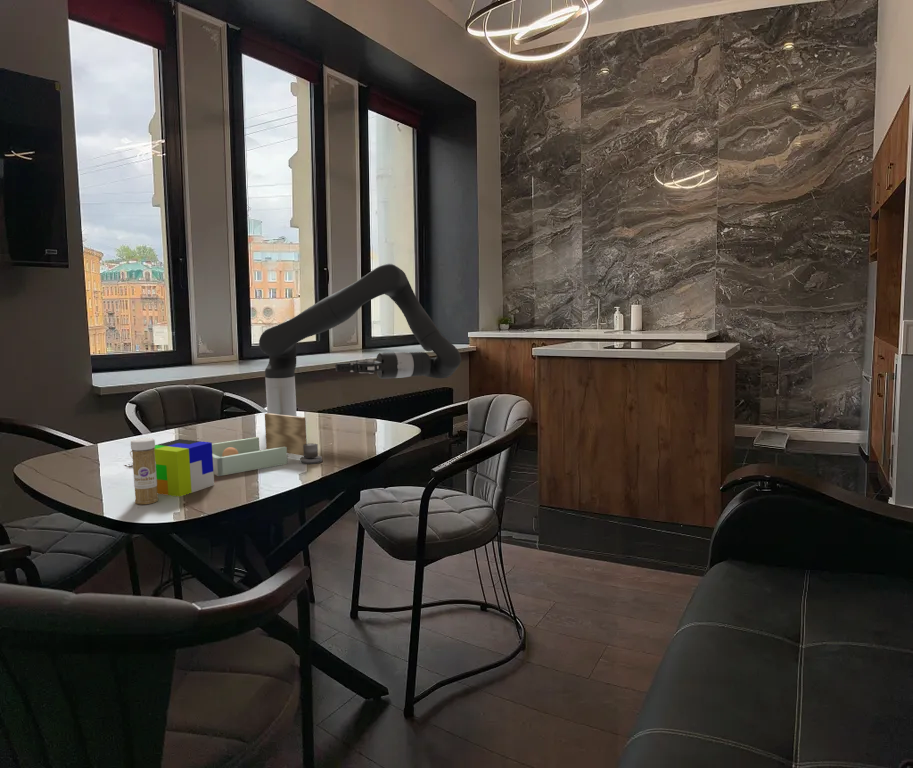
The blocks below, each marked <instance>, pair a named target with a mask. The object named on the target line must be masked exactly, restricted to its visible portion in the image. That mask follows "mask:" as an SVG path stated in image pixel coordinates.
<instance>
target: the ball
mask: <svg viewBox="0 0 913 768" xmlns="http://www.w3.org/2000/svg"><path fill="white" fill-rule="evenodd" d="M236 454H238V451H237V450H236V449H235V448H233V447H229V448H226V449H225V450H224V451H223V454H222V457H224V456H230V455H236Z"/></svg>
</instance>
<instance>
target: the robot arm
mask: <svg viewBox="0 0 913 768" xmlns="http://www.w3.org/2000/svg"><path fill="white" fill-rule="evenodd" d="M382 295H386V296H388V297H389V299H391V300H392V301H393V303H395V304H396V306H397V307H398V309H399V310H400V311H401V312H402V314H403V316H404V318H405V321H406V322H407V325H408V326H409V329H410V330H411V332H412V334H413V335H414V337H415V339H416V340H417V342H418V343H419V344H420V346H421V348H422V349H423V350H424V351H426V352H422V351H417V352H416V351H415V352H414V351H413V352H412V351H411V352H405V351H392V352H391V351H390V352H389V351H388V352H379V353H378V354H377V356H376V359H372V358H365V359H357V360H353V361H352V360H350V361H348V362H344V363H343V362H342V363H336V364H335V371H336V372H338V373H342V372H350V373H359V374H370V375H371V374H373V375H374V374H375V372H376V375H377V377H378V378H379V379H381V380H384V379H398V378H399V379H400V378H403V379H404V378H409V377H422V376H423V377H427V378H434V379H445V378H446V379H447V378H449V377H451V376H452V375H453V374H454V373H455V372H456V371H457V369H458V368H459V367H460V365H461V363H462V356H461V353H460V352H459V349H457V347H456V346H455V345H454V344H453V343H452V342H451V341H450V340H448V339H447V338H446V337H444V336H443V335H442V334H441V332H440V330H439V329H438V327H437V326H436V324H435V323H434V321H433V320H432V319H431V317H430V315H429V314H428V313H427V312H426V310H425V308H423V306H422V304H421V303H420V302H419V299H418V298H417V296H416V294H415V292H414V290H413V288H412V286H411V284H410V281H409V279H408V277H407V275H406V273H405V272H404V270H403V269H401V268H400V267H398V266H396V265H395V264H393V263H383V264H380V265H378V266H377V267H375V268H374V269H373V270H371V271H370V272H368V273H367V274H366V275H364V276H362V277H360V279H357V281H355V282H352V283H351V284H349V285H347V286H345V287H343V288H341V289H340V290H338V291H336V292H334V293H332V294H330V295H329V296H326V297H325V298H322V299H321V300H319V301H318V302H316V303H314V304H312V305H311V306H310V307H308V308H306V309H305V310H303V311H302V312H300V313H299V314H297V315H295V316H294V317H292V318H290V319H288V320H286V321H284V322H282V323H280V324H277V325H275V326H272V327H269V328H267V329H265V330H264V331H263V332H262V334H261V335H260V337H259V340H258V345H259V350H261V352H262V353H264V355H267V356H269V357H268V364H267V366H266V368H265V369H264V374H265V375H264V376H265V377H264V379H265V397H266V413H272V414H280V415H289V416H297V397H296V395H297V394H296V375H295V374H296V373H295V372H296V368H297V343H299V342H301V341H302V340H305V339H307V338H310V337H312V336H316V335H318V334H321V333H325V332H327V331H328V330H331V329H333V328H335V327H337V326H339V325H341V324H343V323H345V322H346V321H348V320H349V319H350V318H351V317H353V316H354V315H355V314H356V313H357V312H358V311H359V310H360V308H361V307H363V306H364V305H365V304H366V303H368V302H369V301H371V300H374V299H375V298H377V297H380V296H382ZM431 351H432V352H433V353H434V354H435V355H436V357H430V355H429V354H428V353H427V352H431Z"/></svg>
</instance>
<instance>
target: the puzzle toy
mask: <svg viewBox="0 0 913 768" xmlns="http://www.w3.org/2000/svg"><path fill="white" fill-rule="evenodd" d="M212 444H213V443H212V442H209V441H202V440H201V441H200V440H192V439H182V438H181V439H175V440H169V441H166V442H163V443H158V444H155V450H154V451H155V462H156V475H157V493H158V494H157V495H165V496H170V495H171V496H173V497H177V496H179V497H180V496H181V497H183V495H184V496H186V494H187V495H189V493H190V494H192V493H196V492H198V491H201V490H203V489H207V488H209V487H212V486H215V474H214V472H213V456H212ZM179 497H178V498H179Z"/></svg>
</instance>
